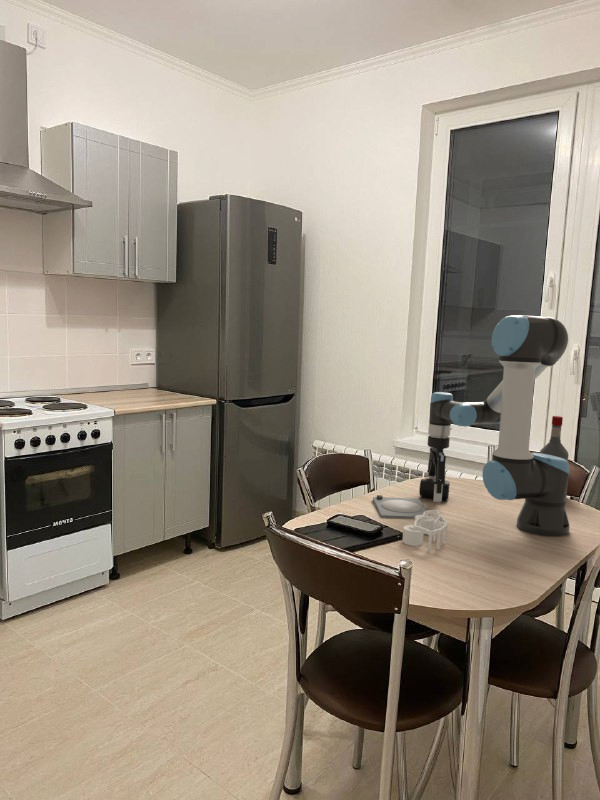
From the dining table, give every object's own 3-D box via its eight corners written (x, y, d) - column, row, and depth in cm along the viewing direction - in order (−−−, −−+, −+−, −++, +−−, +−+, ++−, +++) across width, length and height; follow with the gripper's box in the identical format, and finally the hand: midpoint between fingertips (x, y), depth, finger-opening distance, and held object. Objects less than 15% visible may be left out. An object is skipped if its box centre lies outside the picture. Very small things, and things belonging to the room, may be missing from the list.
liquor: (533, 495, 233) (541, 416, 229) (540, 490, 240) (548, 413, 236) (558, 500, 228) (567, 419, 224) (565, 495, 235) (573, 417, 231)
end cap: (418, 499, 222) (419, 480, 221) (421, 494, 228) (423, 476, 227) (447, 503, 218) (448, 484, 217) (449, 498, 225) (451, 479, 224)
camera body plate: (431, 521, 197) (432, 514, 197) (381, 519, 197) (381, 512, 196) (418, 502, 217) (418, 495, 217) (372, 501, 217) (373, 494, 216)
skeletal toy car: (418, 530, 189) (420, 506, 188) (454, 537, 184) (456, 513, 183) (397, 550, 172) (399, 525, 171) (436, 559, 167) (439, 533, 166)
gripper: (457, 442, 210) (452, 507, 213) (442, 430, 231) (437, 489, 234) (435, 441, 209) (430, 506, 212) (421, 429, 231) (417, 489, 234)
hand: (434, 497), depth 223 cm, fingers closed on end cap, 9 cm apart
